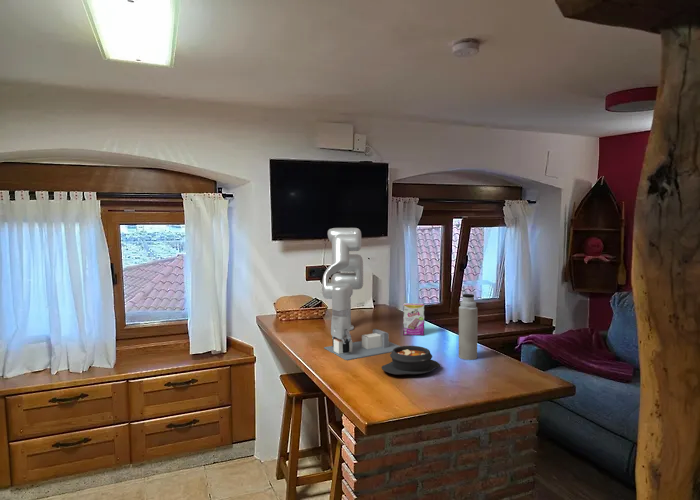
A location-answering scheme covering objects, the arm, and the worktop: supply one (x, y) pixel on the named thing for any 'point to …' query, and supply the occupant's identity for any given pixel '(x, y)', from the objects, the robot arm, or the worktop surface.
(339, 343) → the white and peach box
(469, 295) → the thermos bottle
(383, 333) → the grey board with blocks
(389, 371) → the casserole
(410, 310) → the candy bar box
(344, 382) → the worktop surface
